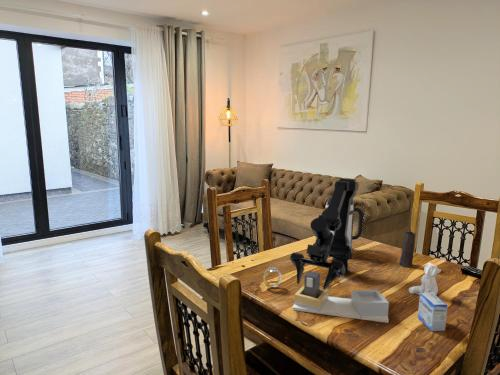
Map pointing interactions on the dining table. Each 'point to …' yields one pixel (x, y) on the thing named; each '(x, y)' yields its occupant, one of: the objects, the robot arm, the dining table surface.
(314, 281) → the plug
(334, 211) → the robot arm
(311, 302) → the low dock
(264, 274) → the ring
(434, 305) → the medicine box
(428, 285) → the white creature statuette
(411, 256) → the butter churn
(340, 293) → the dining table surface
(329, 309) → the panel board
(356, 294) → the raised dock
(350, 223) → the coffee press
